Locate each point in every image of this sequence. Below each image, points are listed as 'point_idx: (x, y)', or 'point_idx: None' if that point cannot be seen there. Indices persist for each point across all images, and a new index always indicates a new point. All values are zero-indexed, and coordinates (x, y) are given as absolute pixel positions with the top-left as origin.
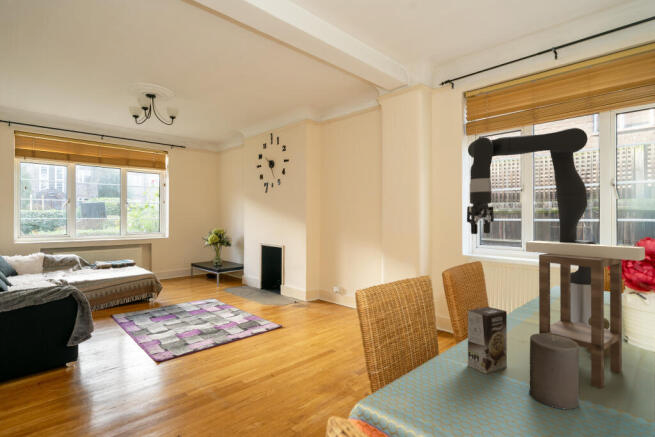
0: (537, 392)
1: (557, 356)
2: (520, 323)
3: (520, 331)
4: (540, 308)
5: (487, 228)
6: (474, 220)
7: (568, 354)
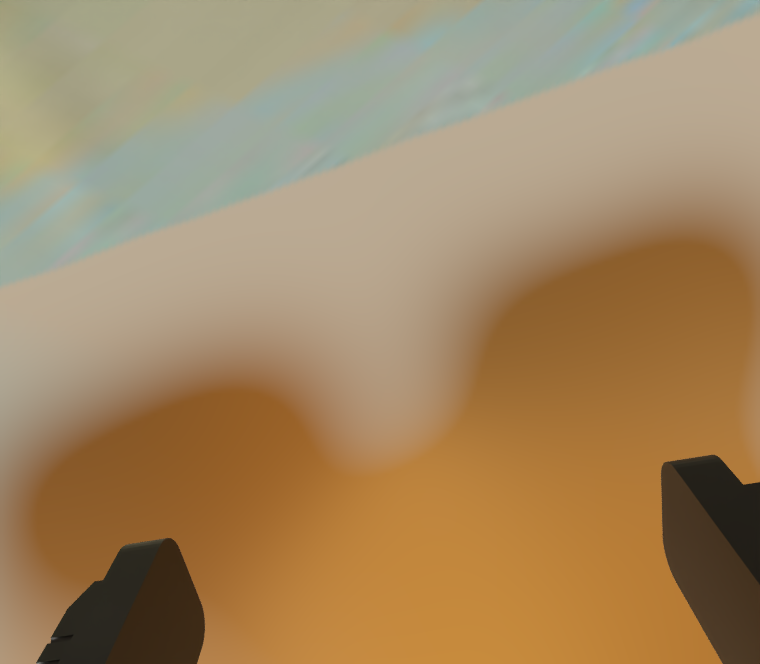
0: None
1: None
2: (126, 135)
3: (240, 37)
4: None
5: (141, 651)
6: None
7: None
